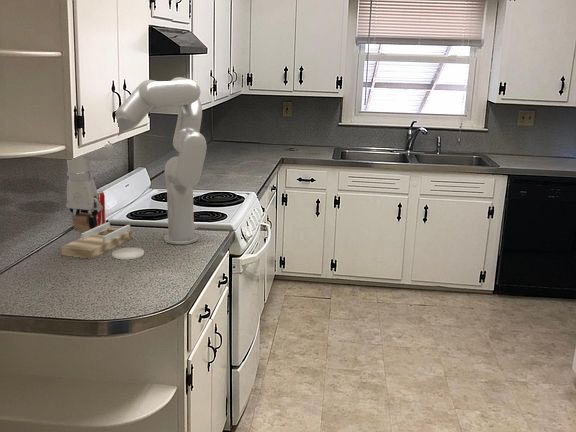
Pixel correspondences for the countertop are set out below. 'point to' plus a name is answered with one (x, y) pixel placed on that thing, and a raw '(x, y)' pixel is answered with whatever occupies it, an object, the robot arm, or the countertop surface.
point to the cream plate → (128, 253)
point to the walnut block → (81, 222)
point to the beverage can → (101, 215)
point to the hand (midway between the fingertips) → (86, 226)
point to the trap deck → (97, 241)
